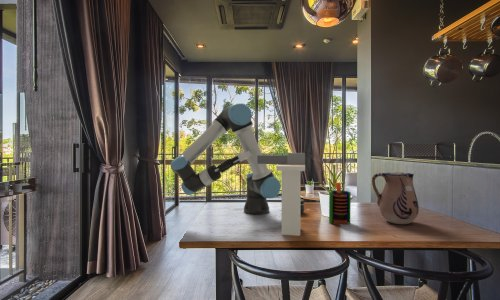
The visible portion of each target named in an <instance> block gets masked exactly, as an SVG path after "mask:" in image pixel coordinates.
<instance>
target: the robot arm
mask: <svg viewBox="0 0 500 300" xmlns="http://www.w3.org/2000/svg"><path fill="white" fill-rule="evenodd" d="M252 114H253V113H252V110H251V108H250V107H249V106H248V105H247V104H245V103H243V102H236V103H233V104H231V105H228V106H226V107H225V108H223V110H222V111H220V113H219V114H218V115H217V116H216V118H214V119H213V122H212V124H211V125H210V126H209V127H208V128H207V129H205V130H204V132H203V133H201V134H200V136H198V138H196V139H195V140H194V141H193V142H192V143H191V144H190V145H189V146H188V147H187V148H186V149H185V150H184V151H183V152H182V153H181V154H180V155H179V156H176V158H174V159H173V160H171V161H170V169H171V170H172V172H173V173H175V174H176V175H178V177H179V178H180V180H181V181H182V183H181V189H182V191H183V193H184V194H185V195H187V196H191V195H193V194H195V193H197V192H198V191H201V190H202V189H204V188H206V187H207V186H208V187H209V186H211V184H212V183H214V182H216V181H218V180H220V179H221V178H222V174H221V173H225V172H226V171H227V170H229V169H231V168H232V167H234V166H236V165H237V164H240V163H241V162H242V161H245V160H246V161H247V162H248V165H249V167H250V170H251V172H249V173H247V174H246V200H245V203H244V206H243V212H244V213H245V212H246V213H245V214H249V213H251V215H262V214H263V213H265V214H268V213H269V212H270V206H269V203H268V200H267V199H274V198H275V197H277V196H278V195H279V193H280V191H281V188H282V185H281V181H280V180H279V179H278V178H277V177H276V176H275V175H274V173H273V171H272V169H269V167H268V166H267V164H257V155H263V153H262V151H261V148H260V147H259V146H260V145H259V143H258V141H257V139H256V136H255V133H254V132H253V129H252V128H253V124H254V123H253V122H252V116H253V115H252ZM229 130H231V132H232V133H233V134H235V135H236V137H237V139H238V141H239V143H240V146H241V148H242V151H241V152H240V153H239V152H238V153H237V154H236V155H233V156H232V157H231V158H228V159H227V160H225V161H224V162H222V163H220V164H219V165H217V166H216V165H215V164H212V165H210V166H208V167H207V168H205V169H203V170H201V171H200V172H198V173H197V172H196V171H195V169H193V167H192V164H193V163H195V161H196V160H197V159H198V158H199V157H200V156H201V155H202V154H203V153H204V152H205V151H207V149H208V148H210V146H211V145H212V144H213V143H214V142H215V141H216V140H217V139H219V137H220V136H221V135H222V134H226V133H227V132H228V131H229ZM263 215H264V214H263Z"/></svg>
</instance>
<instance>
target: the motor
mask: <svg viewBox="0 0 500 300" xmlns="http://www.w3.org/2000/svg"><path fill="white" fill-rule="evenodd" d="M341 186H342V185H341V183H340V182H334V187H335V188H336V190H329V192H328V193H329V196H328V197H329V198H328V201H329V203H328V204H329V205H328V207H329V209H328V210H329V211H328V215H329V216H328V219H329V220H328V223H329V224H331V225H337V226H347V225H348V224H349V225H350V224H351V200H352V199H351V192H350V191H347V190H342V187H341Z"/></svg>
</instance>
